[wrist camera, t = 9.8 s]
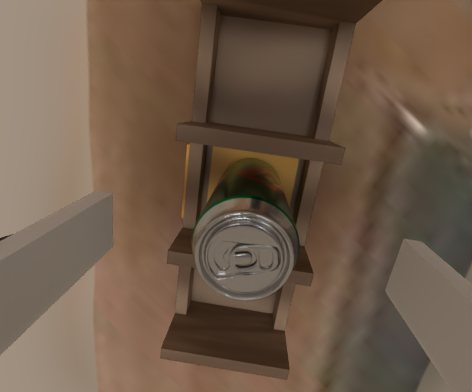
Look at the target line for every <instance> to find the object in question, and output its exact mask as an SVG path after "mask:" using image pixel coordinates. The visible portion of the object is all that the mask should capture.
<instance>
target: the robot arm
mask: <svg viewBox="0 0 472 392" xmlns="http://www.w3.org/2000/svg"><path fill="white" fill-rule="evenodd" d="M112 247H113V193H109V192H102V191H95V192H93V193H91V194H89V195H87V196H85V197H83V198H82V199H80V200H78V201H76V202H74V203H72V204H70V205H68V206H66V207H64V208H62V209H61V210H59V211H57V212H55V213H53V214H51V215H49V216H47V217H45V218H44V219H41V220H40V221H38V222H36V223H34V224H32V225H30V226H28V227H26V228H25V229H22V230H21V231H19V232H17V233H15V234H12V235H9V236H5V237H2V238H0V355H1V354H2V353H3V352H4V351H5V350H6V349H7V348H8V347H9V346H10V345H11V344H12V343H13V342H14V341H16V340H17V339H18V338H19V337H20V336H21V335H22V334H23V333H24V332H25V331H26V330H27V329H28V328H29V327H30V326H31V325H32V324H33V323H34V322H35V321H36V320H37V319H38V318H39V317H40V316H41V315H43V314H44V313H45V312H46V311H47V310H48V309H49V308H50V307H51V306H52V305H53V304H54V303H55V302H56V301H57V300H58V299H59V298H60V297H61V296H62V295H63V294H64V293H65V292H66V291H67V290H68V289H69V288H70V287H72V286H73V285H74V284H75V283H76V282H77V281H78V280H79V279H80V278H81V277H82V276H83V275H84V274H85V273H86V272H87V271H88V270H89V269H90V268H91V267H92V266H93V265H94V264H95V263H97V262H98V261H99V260H100V259H101V258H102V257H103V256H104V255H105V254H106V253H107V252H108V251H109V250H110V249H111V248H112ZM385 292H386V294H387V295H388V297H389V298H390V300H391V301H392V303H393V304H394V306H395V307H396V309H397V310H398V312H399V313H400V315H401V316H402V318H403V319H404V321H405V322H406V324H407V325H408V327H409V328H410V330H411V331H412V333H413V334H414V336H415V337H416V339H417V340H418V342H419V343H420V345H421V346H422V348H423V349H424V351H425V352H426V354H427V355H428V357H429V358H430V360H431V361H432V363H433V364H434V366H435V367H436V369H437V370H438V372H439V373H440V375H441V376H442V378H443V380H444V381H445V383H446V384H447V386H448V387H449V388H450V390H451V392H472V284H471V283H469V282H468V281H467V280H466V279H465V278H464V277H462V276H461V275H460V274H459V273H458V272H456V271H455V270H454V269H453V268H452V267H451V266H449V265H448V264H447V263H446V262H445V261H444V260H442V259H441V258H440V257H439V256H438V255H437V254H435V253H434V252H433V251H432V250H431V249H430V248H428V247H427V246H426V245H425V244H424V243H423V242H421V241H415V240H408V239H403V242H402V245H401V248H400V250H399V253H398V256H397V259H396V261H395V264H394V267H393V270H392V273H391V275H390V278H389V281H388V284H387V286H386V289H385Z"/></svg>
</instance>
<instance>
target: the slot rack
mask: <svg viewBox="0 0 472 392" xmlns="http://www.w3.org/2000/svg"><path fill="white" fill-rule="evenodd" d="M381 1H382V0H201V2H202V9H201V21H200V32H199V44H198V56H197V67H196V79H195V90H194V102H193V114H192V121H190V122H184V123H178V124H177V131H176V141H182V142H189V144H187V152H186V164H185V176H184V188H183V200H182V212H181V218H183V228H182V229H181V231H180V233H179V234H178V236H177V237H176V239H175V240H174V242H173V244H172V245H171V247H170V248H169V250H168V257H167V264H173V265H179V276H178V288H177V299H176V311H175V315H174V317H173V320H172V322H171V325H170V327H169V330H168V332H167V335H166V337H165V340H164V342H163V345H162V347H161V356H160V358H161V359H167V360H173V361H179V362H185V363H191V364H197V365H202V366H208V367H214V368H220V369H226V370H232V371H238V372H244V373H250V374H256V375H262V376H268V377H273V378H279V379H285V380H287V378H288V374H289V370H290V369H289V361H288V354H287V346H286V338H285V327H286V323H287V319H288V314H289V310H290V306H291V301H292V297H293V293H294V288H295V284H299V285H305V286H311V283H312V279H313V275H314V273H313V270H312V267H311V265H310V262H309V259H308V256H307V253H306V250H305V247H304V245H305V241H306V236H307V232H308V228H309V224H310V219H311V215H312V211H313V206H314V202H315V198H316V193H317V189H318V185H319V180H320V176H321V172H322V167H323V163H324V162H325V163H332V164H338V165H341V163H342V159H343V155H344V151H345V148H344V147H341V146H339V145H337V144H334V143H332V142H330V141H329V137H330V133H331V128H332V124H333V120H334V116H335V111H336V107H337V103H338V98H339V94H340V90H341V85H342V81H343V77H344V72H345V68H346V64H347V59H348V55H349V51H350V46H351V42H352V38H353V33H354V29H355V25H356V23H357V22H358V21H359V20H360V19H362V18H363V17H364V16H365V15H366V14H367V13H368V12H370V11H371V10H372V9H373V8H374V7H375V6H376V5H377V4H379V3H380V2H381ZM246 158H254V159H259V160H262V161H264V162H266V163H268V164H269V165H270V166H272V167H273V168H274V169H275V171H276V172H277V174H278V176H279V178H280V181H281V184H282V187H283V190H284V193H285V196H286V199H287V202H288V205H289V208H290V211H291V214H292V217H293V220H294V223H295V226H296V229H297V232H298V235H299V242H300V249H299V256H298V260H297V262H296V265H295V267H294V269H293V270H292V272H291V274H290V277H289V278H288V280H287V281H286V283H285V284H284V285H283V286H282V287H281V288H280V289H279V290H278V291H276V292H275V293H273V294H272V295H270V296H268V297H265V298H263V299H259V300H254V301H238V300H232V299H229V298H226V297H224V296H222V295H220V294H218V293H216V292H215V291H213V290H212V289H211V288H210V287H209V286H208V285H207V284H206V283H205V282H204V281H203V279H202V278H201V276H200V275H199V272H198V270H197V267H196V263H195V260H194V257H193V253H192V246H191V240H192V233H193V230H194V227H195V225H196V223H197V221H198V219H199V217H200V215H201V213H202V211H203V209H204V208H205V206H206V204H207V202H208V200H209V198H210V197H211V195H212V193H213V191H214V189H215V187H216V186H217V184H218V182H219V180H220V178H221V176H222V175H223V173H224V171H225V170H226V169H227V168H228V167H229V166H230V165H231V164H233V163H234V162H236V161H238V160H241V159H246Z"/></svg>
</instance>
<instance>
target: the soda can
mask: <svg viewBox="0 0 472 392" xmlns="http://www.w3.org/2000/svg"><path fill="white" fill-rule="evenodd" d="M191 246H192V253H193V257H194V260H195V263H196V267H197V270H198V272H199V275H200V276H201V278H202V279H203V281H204V282H205V283H206V284H207V285H208V286H209V287H210V288H211V289H212V290H213V291H215V292H216V293H218V294H220V295H222V296H224V297H226V298H229V299H232V300H238V301H254V300H259V299H263V298H265V297H268V296H270V295H272V294H273V293H275V292H276V291H278V290H279V289H280V288H281V287H282V286H283V285H284V284H285V283H286V281H287V280H288V278H289V277H290V274H291V272H292V270H293V269H294V267H295V265H296V262H297V260H298V256H299V249H300V242H299V235H298V232H297V229H296V226H295V223H294V220H293V217H292V214H291V211H290V208H289V205H288V202H287V199H286V196H285V193H284V190H283V187H282V184H281V181H280V178H279V176H278V174H277V172H276V171H275V169H274V168H273V167H272V166H270V165H269V164H268V163H266V162H264V161H262V160H259V159H254V158H246V159H241V160H238V161H236V162H234V163H233V164H231V165H230V166H229V167H228V168H227V169H226V170H225V171H224V173H223V175H222V176H221V178H220V180H219V182H218V184H217V186H216V187H215V189H214V191H213V193H212V195H211V197H210V198H209V200H208V202H207V204H206V206H205V208H204V209H203V211H202V213H201V215H200V217H199V219H198V221H197V223H196V225H195V227H194V230H193V233H192V240H191Z"/></svg>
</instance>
